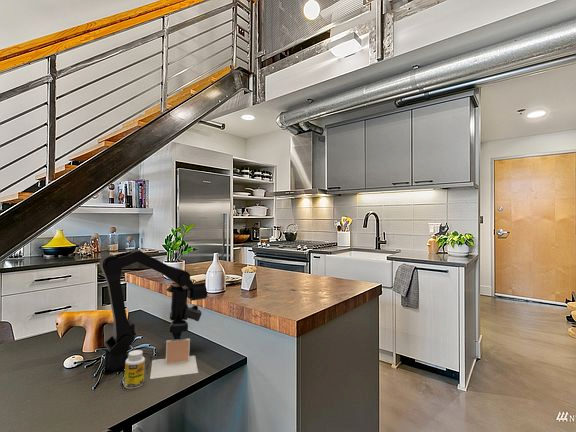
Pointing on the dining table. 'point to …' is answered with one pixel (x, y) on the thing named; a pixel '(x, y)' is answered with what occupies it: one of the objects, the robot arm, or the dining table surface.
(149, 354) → the dining table surface
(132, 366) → the supplement bottle
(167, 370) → the mat
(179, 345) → the tile
